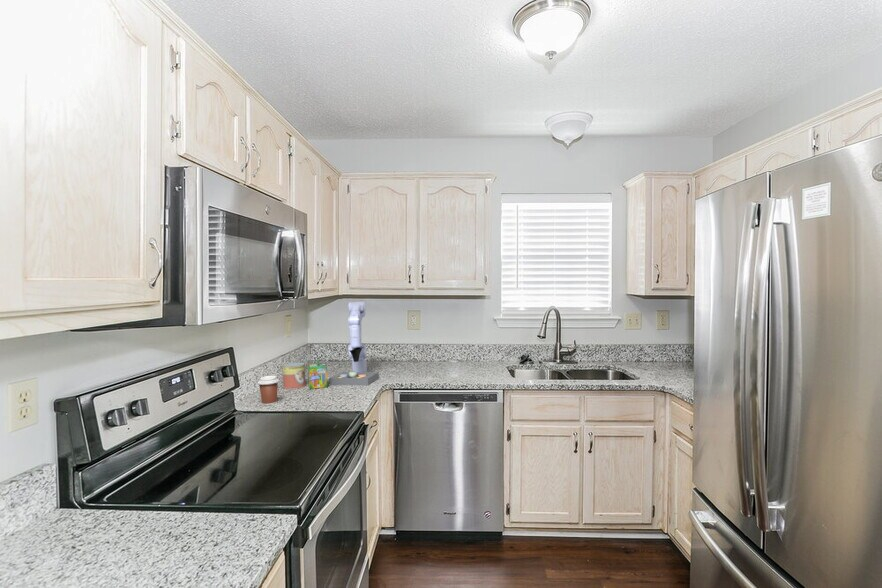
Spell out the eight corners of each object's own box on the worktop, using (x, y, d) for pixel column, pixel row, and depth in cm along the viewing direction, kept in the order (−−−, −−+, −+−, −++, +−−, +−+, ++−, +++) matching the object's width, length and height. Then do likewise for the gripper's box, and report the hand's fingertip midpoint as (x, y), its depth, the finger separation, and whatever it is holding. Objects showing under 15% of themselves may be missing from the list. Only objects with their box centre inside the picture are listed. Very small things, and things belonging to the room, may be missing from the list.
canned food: (293, 390, 225) (292, 367, 224) (278, 388, 230) (277, 365, 230) (310, 385, 234) (309, 363, 234) (295, 383, 240) (294, 361, 240)
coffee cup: (283, 400, 205) (282, 374, 205) (275, 405, 196) (273, 379, 196) (264, 400, 205) (262, 375, 205) (255, 406, 196) (253, 379, 196)
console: (342, 378, 250) (342, 371, 250) (378, 378, 245) (378, 371, 245) (329, 384, 234) (329, 377, 234) (368, 385, 229) (367, 378, 229)
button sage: (351, 376, 240) (350, 371, 240) (357, 377, 239) (357, 371, 239) (348, 378, 236) (347, 372, 236) (354, 378, 235) (354, 373, 235)
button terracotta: (360, 379, 239) (360, 373, 239) (367, 379, 238) (367, 374, 238) (357, 381, 235) (357, 375, 235) (364, 381, 234) (364, 375, 234)
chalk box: (308, 386, 233) (306, 358, 233) (325, 384, 236) (324, 356, 236) (309, 389, 224) (308, 361, 224) (327, 387, 228) (326, 359, 227)
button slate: (341, 379, 241) (341, 373, 241) (348, 379, 240) (348, 373, 240) (338, 380, 237) (338, 375, 237) (345, 380, 237) (345, 375, 236)
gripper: (353, 335, 250) (354, 359, 250) (342, 338, 236) (343, 363, 236) (365, 335, 248) (366, 359, 249) (354, 338, 234) (355, 363, 234)
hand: (356, 361), depth 242 cm, fingers closed
